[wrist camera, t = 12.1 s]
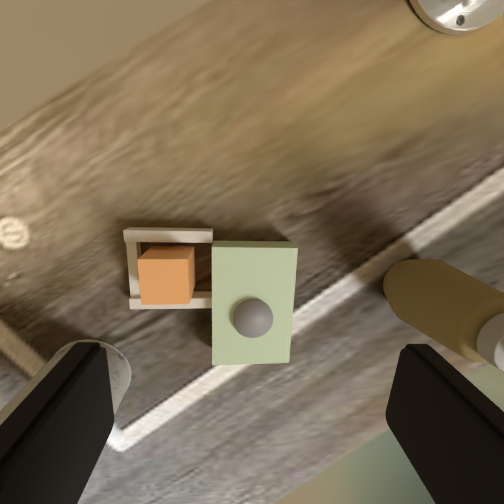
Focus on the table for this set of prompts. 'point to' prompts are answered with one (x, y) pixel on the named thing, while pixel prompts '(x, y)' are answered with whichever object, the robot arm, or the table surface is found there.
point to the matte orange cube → (167, 275)
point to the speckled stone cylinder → (115, 357)
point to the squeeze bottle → (449, 308)
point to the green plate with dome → (234, 293)
